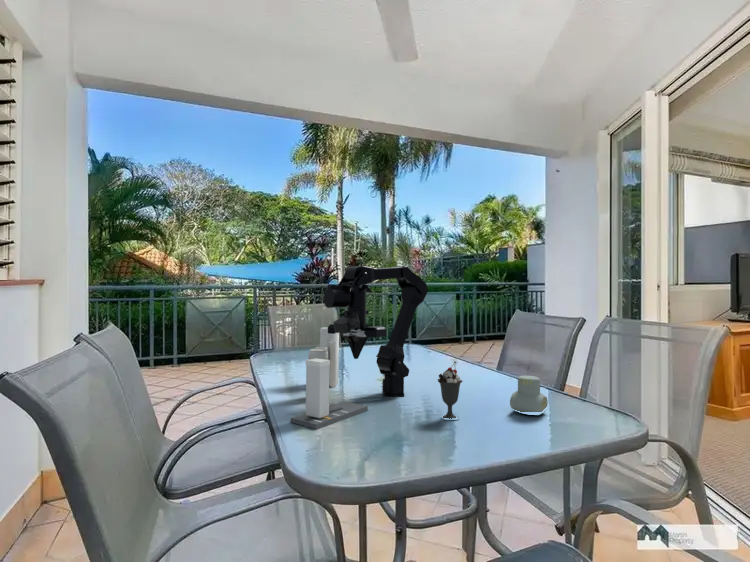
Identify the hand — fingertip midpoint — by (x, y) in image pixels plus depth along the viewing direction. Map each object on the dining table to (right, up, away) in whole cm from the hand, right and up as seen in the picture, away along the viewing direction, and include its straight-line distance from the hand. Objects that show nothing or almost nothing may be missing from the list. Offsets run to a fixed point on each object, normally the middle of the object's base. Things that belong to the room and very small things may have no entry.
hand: (355, 358), depth 134 cm
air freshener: (+49, -14, -11) cm, 52 cm away
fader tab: (-9, -11, -20) cm, 25 cm away
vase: (-11, -14, +22) cm, 28 cm away
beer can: (-12, -13, +4) cm, 18 cm away
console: (-6, -13, -16) cm, 21 cm away
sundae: (+26, -13, -16) cm, 33 cm away
